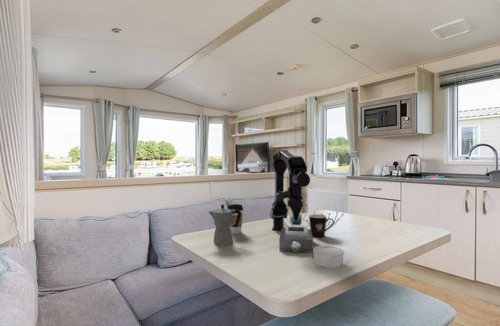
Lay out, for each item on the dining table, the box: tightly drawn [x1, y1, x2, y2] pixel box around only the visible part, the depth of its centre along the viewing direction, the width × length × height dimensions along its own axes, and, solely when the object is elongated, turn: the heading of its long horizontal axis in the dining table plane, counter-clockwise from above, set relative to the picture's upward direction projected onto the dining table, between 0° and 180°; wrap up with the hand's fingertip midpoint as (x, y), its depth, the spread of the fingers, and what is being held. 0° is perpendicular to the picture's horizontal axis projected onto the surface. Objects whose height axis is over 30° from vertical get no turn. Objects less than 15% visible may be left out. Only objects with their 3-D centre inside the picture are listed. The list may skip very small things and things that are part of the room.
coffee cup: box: [227, 203, 244, 235], centre depth 144 cm, size 8×8×15 cm
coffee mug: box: [308, 213, 335, 239], centre depth 135 cm, size 12×9×10 cm
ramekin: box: [312, 244, 345, 269], centre depth 101 cm, size 11×11×5 cm
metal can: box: [289, 207, 302, 226], centre depth 122 cm, size 5×5×8 cm
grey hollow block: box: [278, 225, 314, 253], centre depth 121 cm, size 18×14×7 cm
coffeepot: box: [208, 204, 241, 246], centre depth 128 cm, size 15×9×18 cm, turn 92°
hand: (295, 219), depth 122 cm, fingers closed on metal can, 5 cm apart
